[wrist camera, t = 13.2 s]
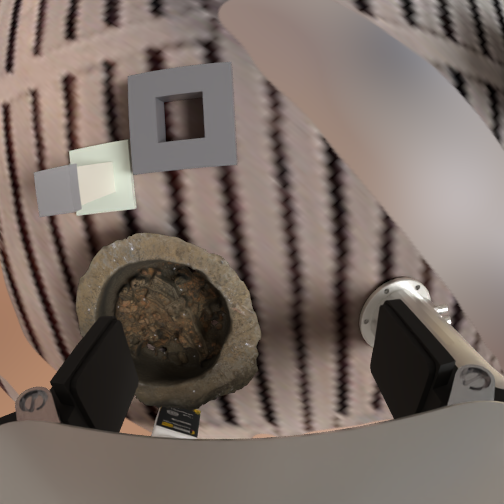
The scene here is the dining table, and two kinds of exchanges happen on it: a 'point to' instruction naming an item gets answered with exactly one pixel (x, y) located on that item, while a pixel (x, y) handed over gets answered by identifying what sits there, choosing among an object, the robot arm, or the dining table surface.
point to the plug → (72, 187)
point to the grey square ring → (153, 120)
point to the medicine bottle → (176, 423)
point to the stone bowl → (174, 317)
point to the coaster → (122, 175)
